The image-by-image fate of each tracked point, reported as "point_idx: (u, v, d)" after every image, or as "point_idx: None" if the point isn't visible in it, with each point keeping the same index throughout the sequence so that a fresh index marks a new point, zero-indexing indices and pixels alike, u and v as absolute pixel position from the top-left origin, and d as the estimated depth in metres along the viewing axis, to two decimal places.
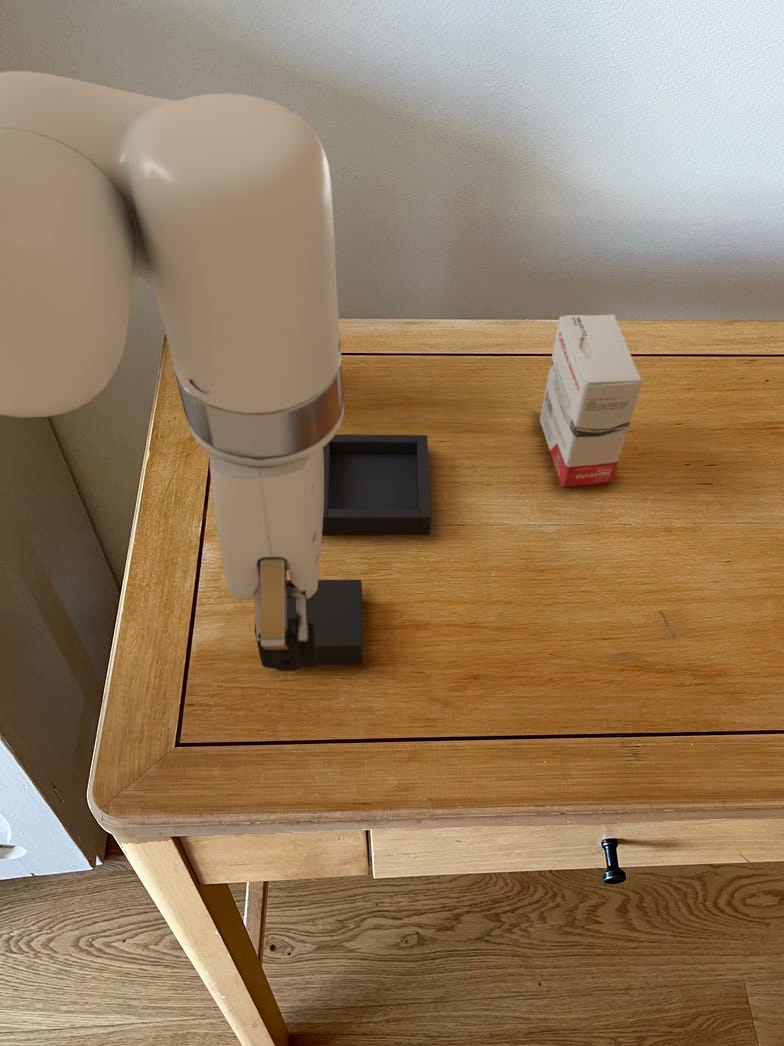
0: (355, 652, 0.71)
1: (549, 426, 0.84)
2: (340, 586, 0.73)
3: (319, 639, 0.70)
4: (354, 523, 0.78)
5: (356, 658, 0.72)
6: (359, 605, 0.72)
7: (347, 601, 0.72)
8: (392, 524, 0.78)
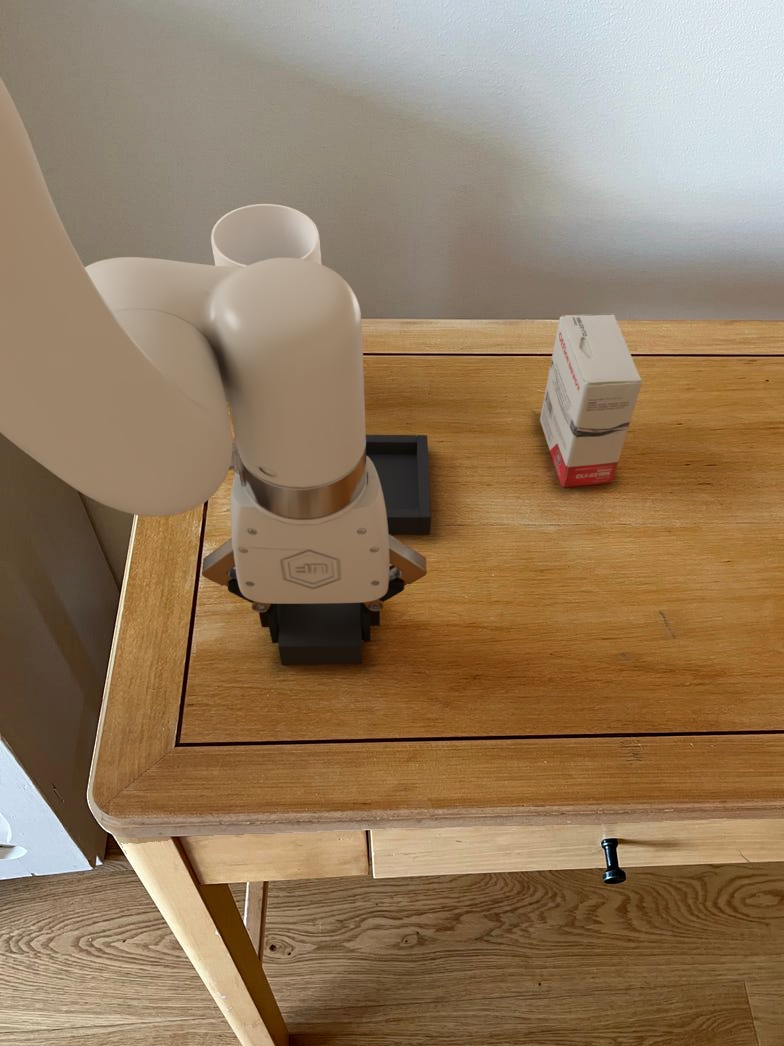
0: (355, 652, 0.71)
1: (549, 426, 0.84)
2: None
3: (319, 640, 0.70)
4: None
5: (356, 658, 0.72)
6: (359, 605, 0.72)
7: None
8: (392, 524, 0.78)
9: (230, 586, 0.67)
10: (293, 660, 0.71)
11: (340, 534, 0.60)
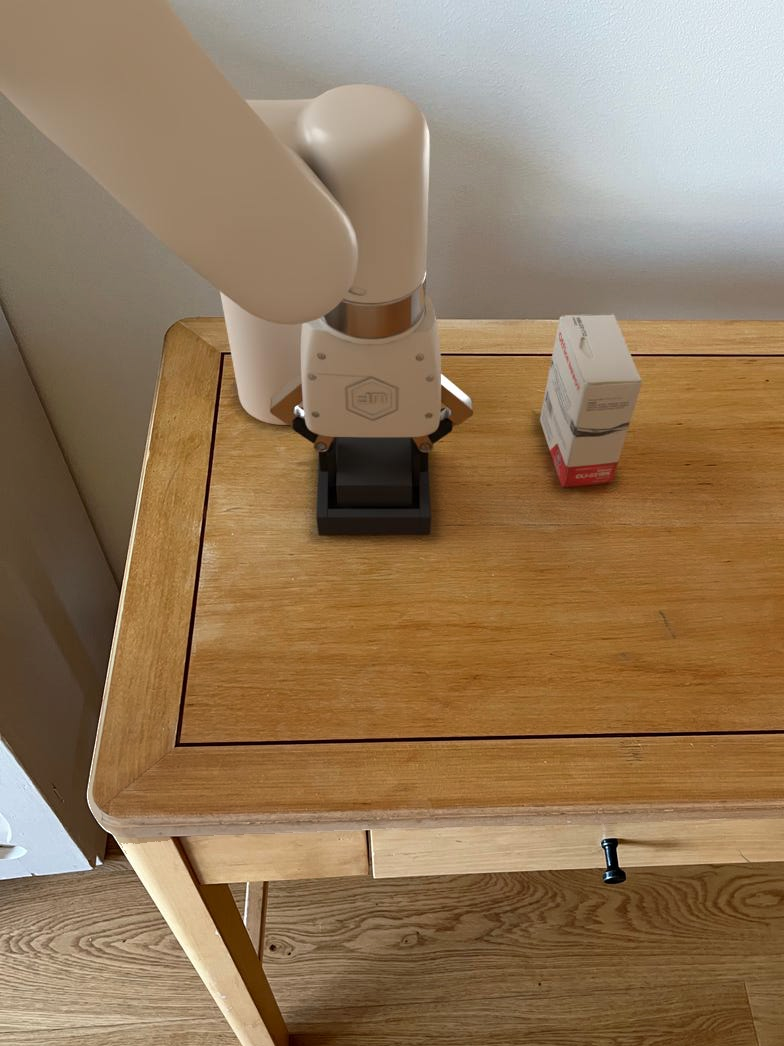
0: (406, 493, 0.77)
1: (549, 426, 0.84)
2: None
3: (374, 480, 0.77)
4: (354, 523, 0.78)
5: (406, 500, 0.78)
6: (409, 452, 0.79)
7: (397, 448, 0.79)
8: (392, 524, 0.78)
9: (295, 424, 0.73)
10: (349, 501, 0.78)
11: (400, 360, 0.66)
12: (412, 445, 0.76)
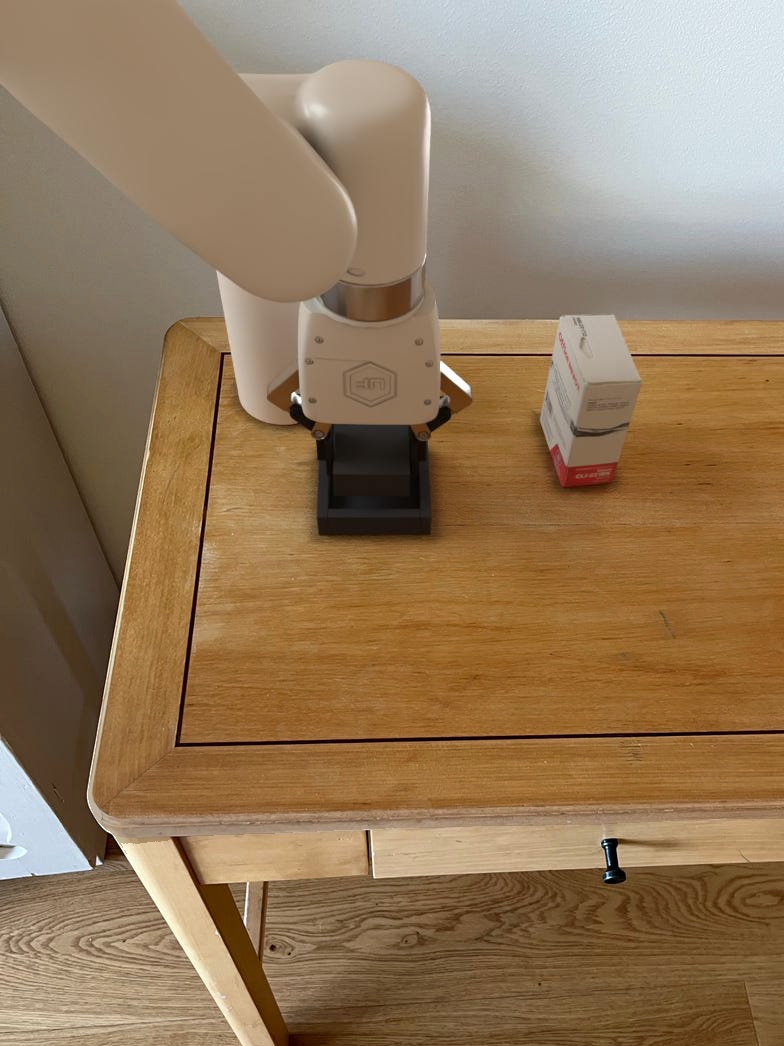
0: (403, 482, 0.76)
1: (549, 426, 0.84)
2: (389, 425, 0.78)
3: (371, 469, 0.75)
4: (354, 523, 0.78)
5: (404, 489, 0.77)
6: (407, 441, 0.77)
7: (395, 437, 0.78)
8: (392, 524, 0.78)
9: (292, 411, 0.72)
10: (345, 490, 0.77)
11: (399, 344, 0.65)
12: (410, 434, 0.75)
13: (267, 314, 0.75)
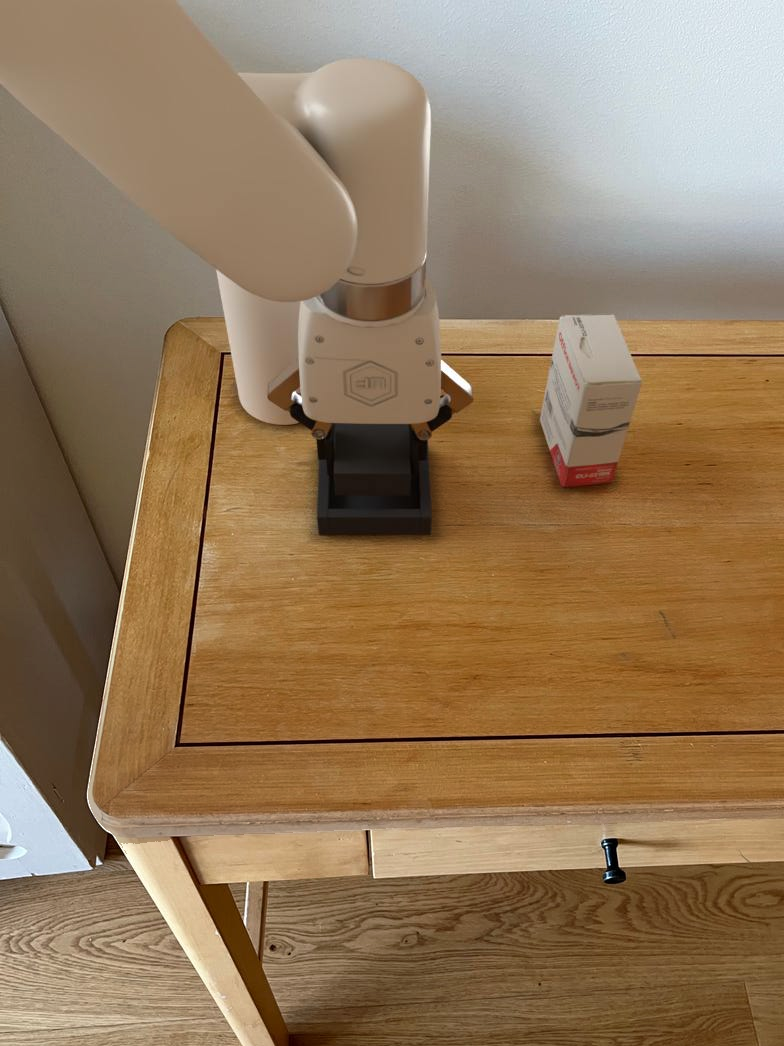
0: (404, 481, 0.76)
1: (549, 426, 0.84)
2: (389, 424, 0.78)
3: (372, 468, 0.75)
4: (355, 523, 0.78)
5: (405, 489, 0.77)
6: (407, 440, 0.77)
7: (396, 437, 0.78)
8: (393, 524, 0.78)
9: (292, 410, 0.72)
10: (346, 489, 0.77)
11: (400, 344, 0.65)
12: (411, 433, 0.75)
13: (267, 314, 0.75)
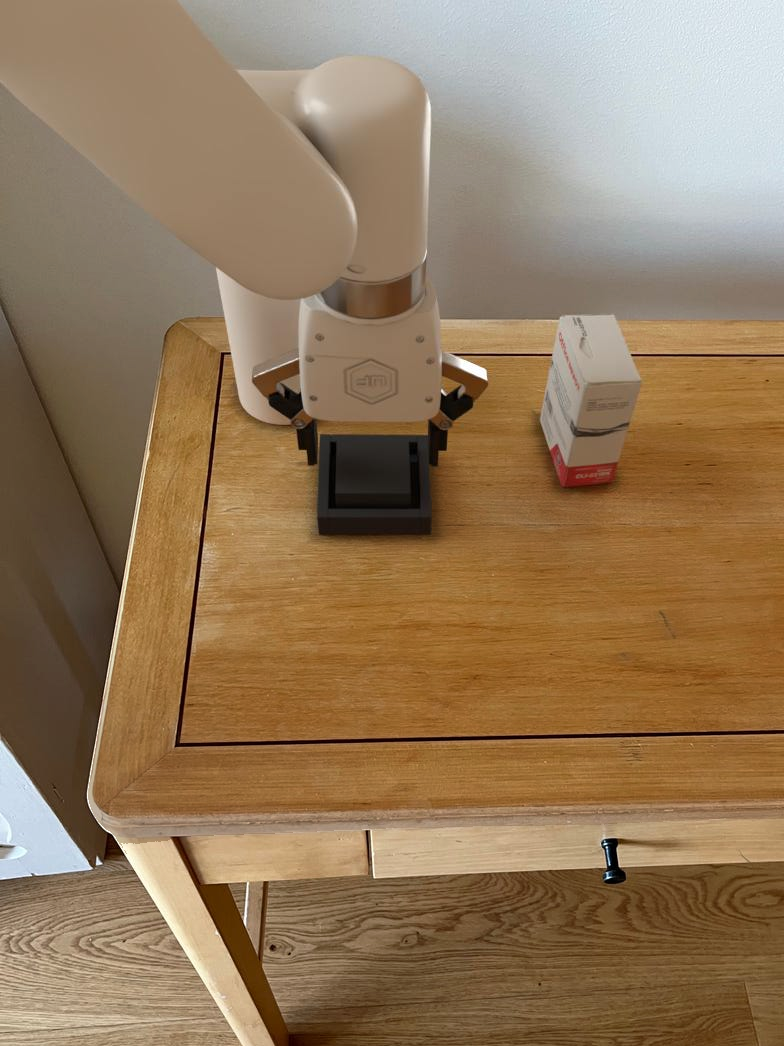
0: (404, 501, 0.78)
1: (549, 426, 0.84)
2: (390, 444, 0.80)
3: (373, 488, 0.77)
4: (355, 523, 0.78)
5: (405, 507, 0.79)
6: (407, 460, 0.79)
7: (396, 457, 0.79)
8: (393, 524, 0.78)
9: (271, 399, 0.71)
10: (348, 508, 0.78)
11: (400, 341, 0.65)
12: (431, 423, 0.75)
13: (267, 314, 0.75)
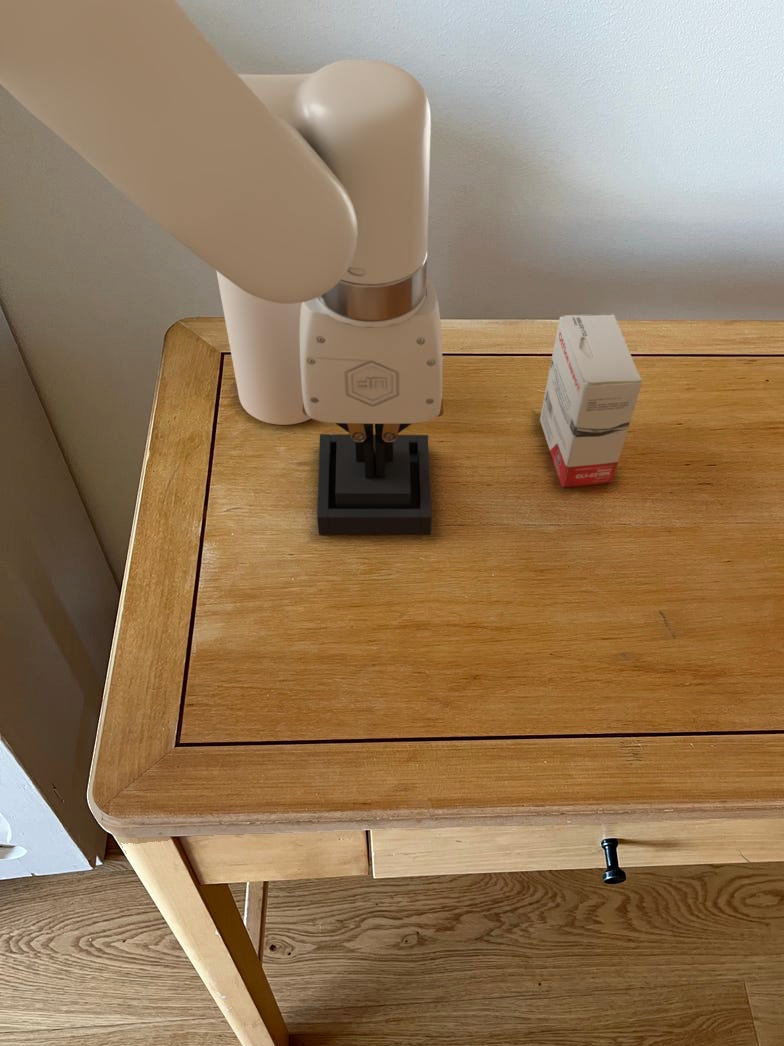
0: (404, 501, 0.78)
1: (549, 426, 0.84)
2: None
3: (373, 488, 0.77)
4: (355, 523, 0.78)
5: (405, 508, 0.79)
6: (407, 460, 0.79)
7: (396, 457, 0.79)
8: (393, 524, 0.78)
9: None
10: (348, 508, 0.78)
11: (401, 343, 0.65)
12: (376, 435, 0.75)
13: (267, 314, 0.75)
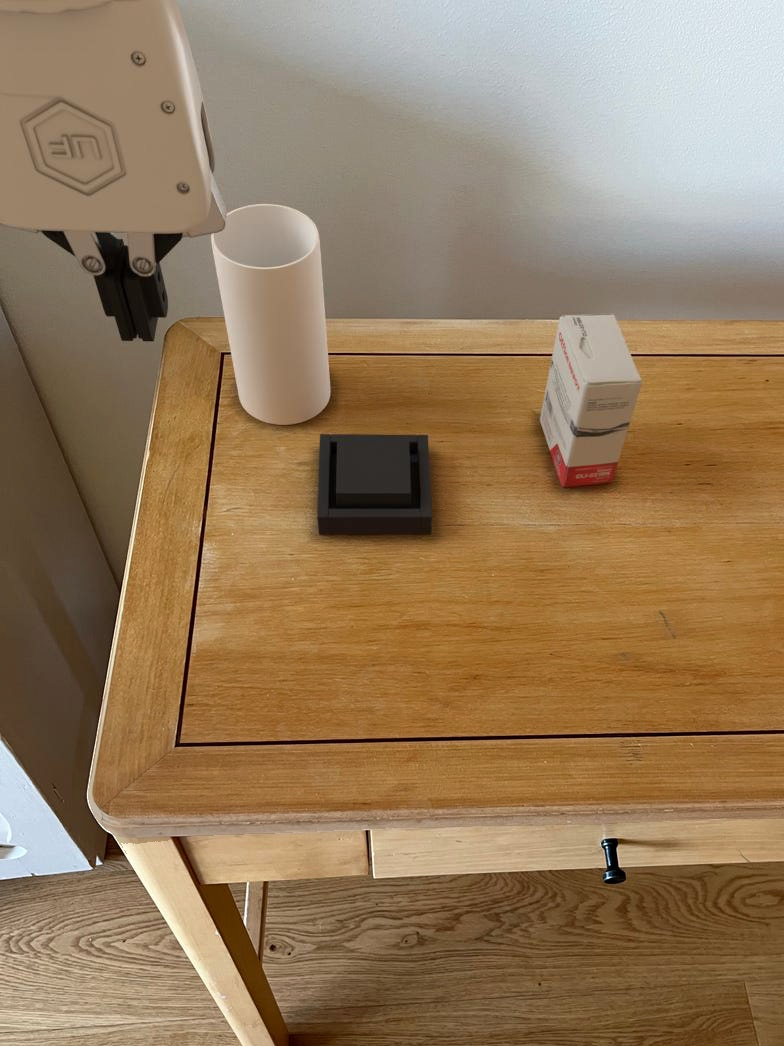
0: (405, 500, 0.78)
1: (549, 426, 0.84)
2: (390, 444, 0.80)
3: (373, 488, 0.77)
4: (355, 523, 0.78)
5: (405, 507, 0.79)
6: (408, 460, 0.79)
7: (397, 456, 0.79)
8: (393, 524, 0.78)
9: None
10: (348, 508, 0.78)
11: (104, 62, 0.38)
12: (127, 267, 0.48)
13: (267, 314, 0.75)
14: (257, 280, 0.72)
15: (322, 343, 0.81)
